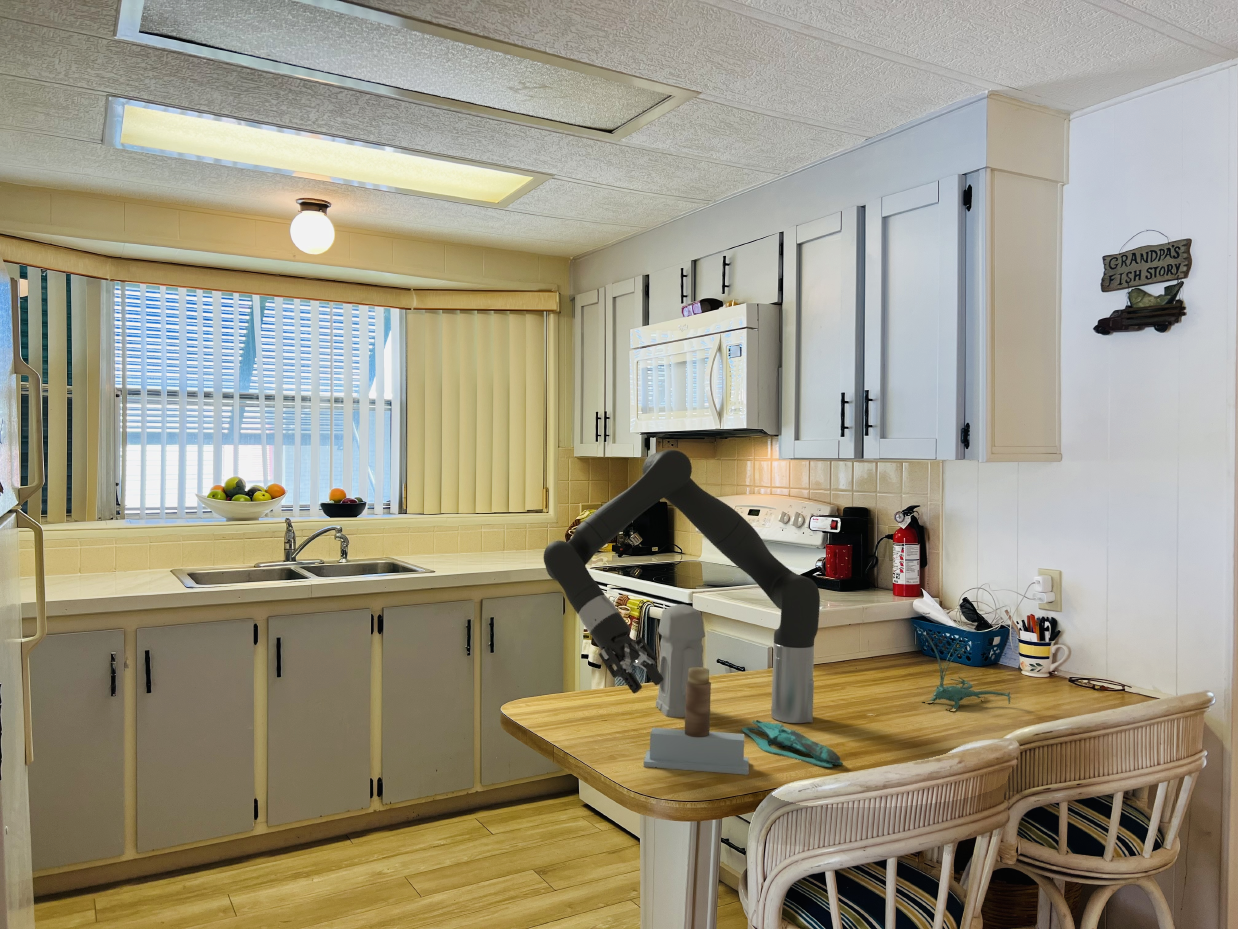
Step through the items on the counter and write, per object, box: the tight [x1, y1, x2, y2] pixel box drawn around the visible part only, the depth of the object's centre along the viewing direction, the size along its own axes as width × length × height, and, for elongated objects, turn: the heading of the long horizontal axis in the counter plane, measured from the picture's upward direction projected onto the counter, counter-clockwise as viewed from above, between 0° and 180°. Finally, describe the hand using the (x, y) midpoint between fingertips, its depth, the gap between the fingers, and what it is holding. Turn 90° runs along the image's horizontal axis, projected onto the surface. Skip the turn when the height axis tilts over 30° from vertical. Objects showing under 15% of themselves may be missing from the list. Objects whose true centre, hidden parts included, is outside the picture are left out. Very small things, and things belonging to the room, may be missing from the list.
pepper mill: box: [684, 667, 712, 738], centre depth 177 cm, size 5×5×12 cm
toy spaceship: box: [741, 719, 844, 768], centre depth 188 cm, size 11×27×5 cm, turn 34°
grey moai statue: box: [655, 604, 706, 718], centre depth 214 cm, size 15×10×25 cm
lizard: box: [913, 624, 1012, 710], centre depth 226 cm, size 23×25×21 cm
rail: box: [643, 727, 750, 776], centre depth 177 cm, size 20×7×6 cm, turn 82°
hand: (649, 686), depth 183 cm, fingers open, 8 cm apart
